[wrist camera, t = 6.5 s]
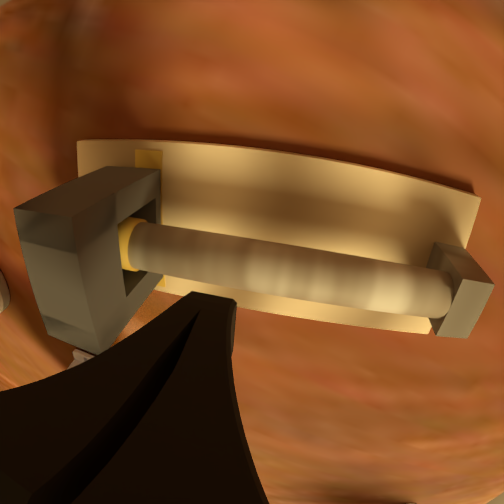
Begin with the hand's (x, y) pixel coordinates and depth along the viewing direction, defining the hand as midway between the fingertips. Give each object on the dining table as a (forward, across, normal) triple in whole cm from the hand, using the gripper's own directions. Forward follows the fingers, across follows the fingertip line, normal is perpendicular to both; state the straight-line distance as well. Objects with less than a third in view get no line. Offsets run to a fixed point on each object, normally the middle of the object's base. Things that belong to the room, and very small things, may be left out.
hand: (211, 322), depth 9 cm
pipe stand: (+7, -1, 0) cm, 7 cm away
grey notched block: (+7, +6, 0) cm, 9 cm away
